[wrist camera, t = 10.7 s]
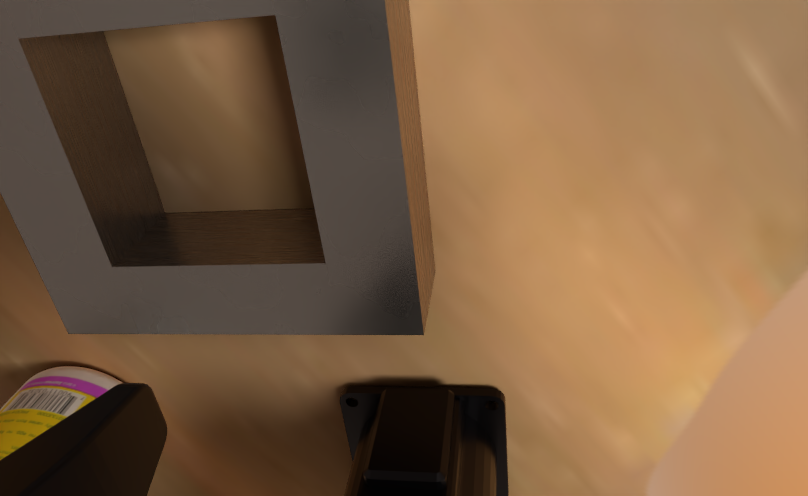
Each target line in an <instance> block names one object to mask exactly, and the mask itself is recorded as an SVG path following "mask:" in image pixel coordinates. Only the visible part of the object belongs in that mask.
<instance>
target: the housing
mask: <svg viewBox="0 0 808 496" xmlns="http://www.w3.org/2000/svg"><path fill="white" fill-rule="evenodd" d="M270 15H275V16H276V21H277V26H278V31H279V36H280V41H281V46H282V50H283V55H284V60H285V65H286V70H287V75H288V80H289V85H290V90H291V95H292V100H293V105H294V110H295V114H296V119H297V124H298V129H299V134H300V139H301V144H302V149H303V154H304V159H305V164H306V169H307V173H308V178H309V183H310V188H311V193H312V198H313V203H314V209H285V210H255V211H226V212H196V213H166V214H165V212H164V209H163V206H162V203H161V200H160V197H159V194H158V191H157V188H156V185H155V182H154V179H153V177H152V174H151V171H150V168H149V165H148V162H147V159H146V156H145V153H144V150H143V147H142V144H141V141H140V138H139V136H138V133H137V130H136V127H135V124H134V121H133V118H132V115H131V112H130V109H129V106H128V103H127V100H126V97H125V94H124V92H123V89H122V86H121V83H120V80H119V77H118V74H117V71H116V68H115V65H114V62H113V59H112V56H111V53H110V51H109V48H108V45H107V42H106V39H105V36H104V33H103V31H107V30H118V29H129V28H140V27H151V26H162V25H173V24H183V23H194V22H205V21H216V20H227V19H238V18H249V17H260V16H270ZM0 193H1V195H2V197H3V199H4V201H5V203H6V205H7V207H8V209H9V211H10V213H11V216H12V218H13V220H14V222H15V224H16V226H17V228H18V230H19V232H20V234H21V236H22V238H23V240H24V242H25V245H26V247H27V249H28V251H29V253H30V255H31V257H32V259H33V261H34V263H35V265H36V267H37V269H38V271H39V274H40V276H41V278H42V280H43V282H44V284H45V286H46V288H47V290H48V292H49V294H50V296H51V298H52V300H53V303H54V305H55V307H56V309H57V311H58V313H59V315H60V317H61V319H62V321H63V323H64V325H65V327H66V329H67V332H68V334H290V335H424V332H425V326H426V320H427V315H428V309H429V304H430V298H431V292H432V287H433V281H434V275H435V264H434V254H433V244H432V234H431V223H430V213H429V203H428V193H427V183H426V173H425V163H424V153H423V143H422V132H421V122H420V112H419V102H418V92H417V82H416V72H415V62H414V52H413V41H412V31H411V21H410V11H409V1H408V0H0Z"/></svg>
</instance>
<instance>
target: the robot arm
mask: <svg viewBox="0 0 808 496" xmlns="http://www.w3.org/2000/svg"><path fill="white" fill-rule="evenodd" d="M351 398H355V399H356V400H353V399H351ZM488 401H495V403H490V402H488ZM340 405H341V410H342V414H343V419H344V423H345V428H346V433H347V437H348V442H349V446H350V451H351V455H352V460H353V464H352V467H351V471H350V475H349V479H348V483H347V487H346V491H345V494H344V496H508V467H507V439H506V411H505V397H504V394H503V393H502V392H501V391H499V390H497V389H492V388H441V387H387V386H348V387H346V388H344V390H343V391H342V394H341V397H340ZM166 436H167V426H166V422H165V419H164V417H163V414H162V412H161V409H160V407H159V405H158V402H157V400H156V398H155V395H154V393H153V391H152V389H151V388H150V387H149V386H148V385H147V384H143V383H122V384H118V385H116V386H114V387H113V388H111V389H110V390H108V391H107V392H105V393H103V394H102V395H100V396H99V397H97V398H96V399H94V400H93V401H91V402H90V403H88V404H86V405H85V406H83V407H82V408H80V409H79V410H77V411H76V412H74V413H73V414H71V415H69V416H68V417H66V418H65V419H63V420H62V421H60V422H59V423H57V424H56V425H54V426H52V427H51V428H49V429H48V430H46V431H45V432H43V433H42V434H40V435H39V436H37V437H35V438H34V439H32V440H31V441H29V442H28V443H26V444H25V445H23V446H22V447H20V448H18V449H17V450H15V451H14V452H12V453H11V454H9V455H8V456H6V457H5V458H3V459H1V460H0V496H147V493H148V490H149V487H150V484H151V482H152V479H153V476H154V473H155V470H156V467H157V464H158V461H159V458H160V455H161V453H162V450H163V447H164V444H165V440H166Z"/></svg>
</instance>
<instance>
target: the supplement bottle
mask: <svg viewBox="0 0 808 496" xmlns="http://www.w3.org/2000/svg"><path fill="white" fill-rule="evenodd" d="M122 383H123V382H121V381H119V380H117V379H115V378H113V377H111V376H109V375H107V374H105V373H102V372H99V371H96V370H93V369H89V368H84V367H75V366H63V367H55V368H50V369H47V370H44V371H42V372H40V373H38V374H36V375H34V376H33V377H31V378H30V379H29V380H27V381H26V382H25V383H24V384H23V385H22V386H21V387H20V389H19V390H18V391H17V392H16V393H15V394H14V395H13V396H12V397H11V398H10V399H9V400H8V401H7V402H6V403H5V404H4V405H3V406H2V408H1V409H0V460H1V459H3V458H5V457H6V456H8V455H9V454H11V453H12V452H14V451H15V450H17V449H18V448H20V447H22V446H23V445H25V444H26V443H28V442H29V441H31V440H32V439H34V438H35V437H37V436H39V435H40V434H42V433H43V432H45V431H46V430H48V429H49V428H51V427H52V426H54V425H56V424H57V423H59V422H60V421H62V420H63V419H65V418H66V417H68V416H69V415H71V414H73V413H74V412H76V411H77V410H79V409H80V408H82V407H83V406H85V405H86V404H88V403H90V402H91V401H93V400H94V399H96V398H97V397H99V396H100V395H102V394H103V393H105V392H107V391H108V390H110V389H111V388H113V387H114V386H116V385H118V384H122Z"/></svg>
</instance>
